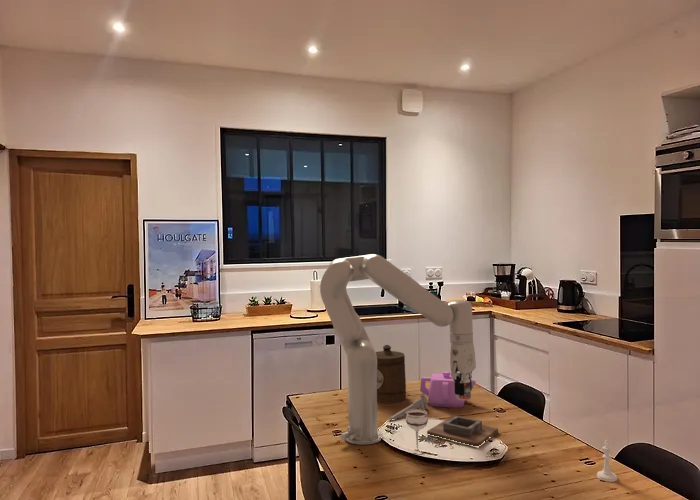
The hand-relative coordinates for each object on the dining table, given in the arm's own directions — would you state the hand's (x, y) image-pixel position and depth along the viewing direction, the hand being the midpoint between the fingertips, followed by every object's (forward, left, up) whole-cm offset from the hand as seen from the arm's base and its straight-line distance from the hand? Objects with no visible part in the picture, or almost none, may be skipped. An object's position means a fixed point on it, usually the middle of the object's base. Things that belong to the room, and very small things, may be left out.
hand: (463, 391), depth 168 cm
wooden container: (+19, +43, -14) cm, 49 cm away
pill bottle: (0, 0, -2) cm, 2 cm away
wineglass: (-21, +5, -14) cm, 26 cm away
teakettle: (+28, +20, -14) cm, 37 cm away
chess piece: (-6, -45, -14) cm, 47 cm away
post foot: (0, 0, -14) cm, 14 cm away
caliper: (+6, +25, -15) cm, 30 cm away
